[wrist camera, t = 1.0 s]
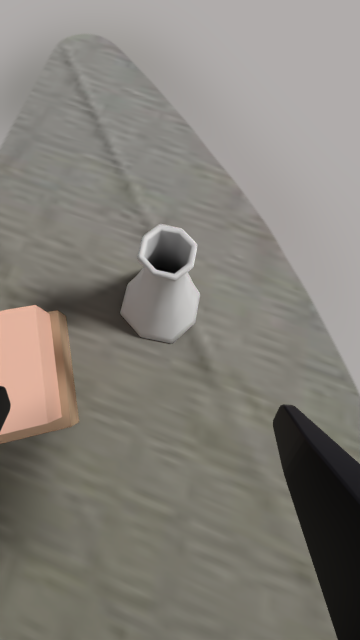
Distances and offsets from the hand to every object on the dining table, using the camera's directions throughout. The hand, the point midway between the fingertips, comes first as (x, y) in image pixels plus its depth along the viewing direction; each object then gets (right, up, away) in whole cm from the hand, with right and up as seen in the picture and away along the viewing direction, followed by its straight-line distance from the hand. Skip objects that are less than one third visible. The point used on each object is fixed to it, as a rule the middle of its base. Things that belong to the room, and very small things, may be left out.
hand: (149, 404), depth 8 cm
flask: (-1, +4, +15) cm, 16 cm away
